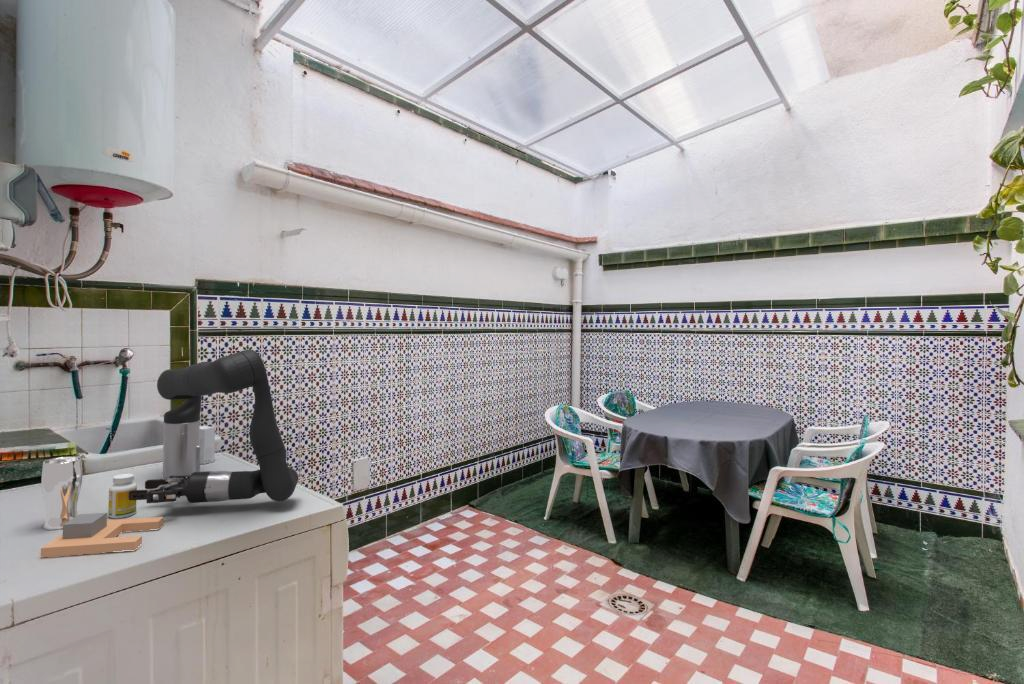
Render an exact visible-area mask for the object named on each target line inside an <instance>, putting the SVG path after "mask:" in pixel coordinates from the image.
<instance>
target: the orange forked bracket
mask: <svg viewBox="0 0 1024 684" xmlns="http://www.w3.org/2000/svg"><path fill="white" fill-rule="evenodd" d="M163 524H164V525H165V516H157V517H156V516H153V517H139V518H117V519H108V512H100V513H99V512H97V513H94V512H93V513H79V514H78V516H76V517H75V518H73V519H71V520H70V521H68V522H66V523H65V524H63V529H62V534H61V535H59V536H57V537H56V538H55V539H52V540H51V541H50V542H48V543H46V544H45V545H44V546H42V547H41V548H40V559H44V558H43V557H50V558H60V557H59V556H64V557H69V556H68V555H78V556H84V555H83V554H91V555H95V554H94V553H103V552H113V551H122V550H135V549H136V548H138V546H140V544H142V545H143V536H142V535H133V536H120V535H121V534H122V533H121V532H125V533H127V532H126V531H140V530H150V529H158V528H160V527H161V526H162V525H163ZM162 527H163V526H162ZM162 527H161V528H162ZM161 528H160V529H161ZM120 533H121V534H120ZM119 534H120V535H119ZM117 535H119V536H120V537H119V536H117ZM116 536H117V537H116ZM115 537H116V538H115ZM140 547H141V546H140ZM138 549H139V548H138ZM57 556H58V557H57Z"/></svg>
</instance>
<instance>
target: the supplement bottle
mask: <svg viewBox="0 0 1024 684" xmlns="http://www.w3.org/2000/svg"><path fill="white" fill-rule="evenodd" d="M134 479H135V475H134V473H122V474H116V475H114V476H113V478H112V485H111V486H110V487H109V488H108V508H107V509H108V512H107V517H109V518H110V519H112V520H118V519H125V518H128V517H131V516H134V515H135V514H136V513H137V500H129V492H130V491H132V490H138V486H137V483H136V482H133V481H134ZM124 517H125V518H124Z"/></svg>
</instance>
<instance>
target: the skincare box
mask: <svg viewBox="0 0 1024 684" xmlns="http://www.w3.org/2000/svg"><path fill="white" fill-rule="evenodd" d="M215 436H216V427H215V426H209V425H200V435H199V445H200V446H201V452H200V465H206V464H211V463H214V462H215V448H216V447H215V446H216V437H215Z"/></svg>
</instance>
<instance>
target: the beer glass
mask: <svg viewBox="0 0 1024 684" xmlns="http://www.w3.org/2000/svg"><path fill="white" fill-rule="evenodd" d="M40 481H41V492H42V495H43V496H42V497H43V501H44V505H45V519H44V523H43V527H42V528H43V529H44V530H46V531H56V530H63V524H65V523H66V522H68V521H70V520H71V519H73V518H75V517H76V516H78V515H79V514H78V501H79V497H80V493H81V490H82V489H81V488H82V484H83V465H82V457H81V456H61V457H55V458H50V459H46V460H44V461H43V462H42V469H41V480H40Z"/></svg>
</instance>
